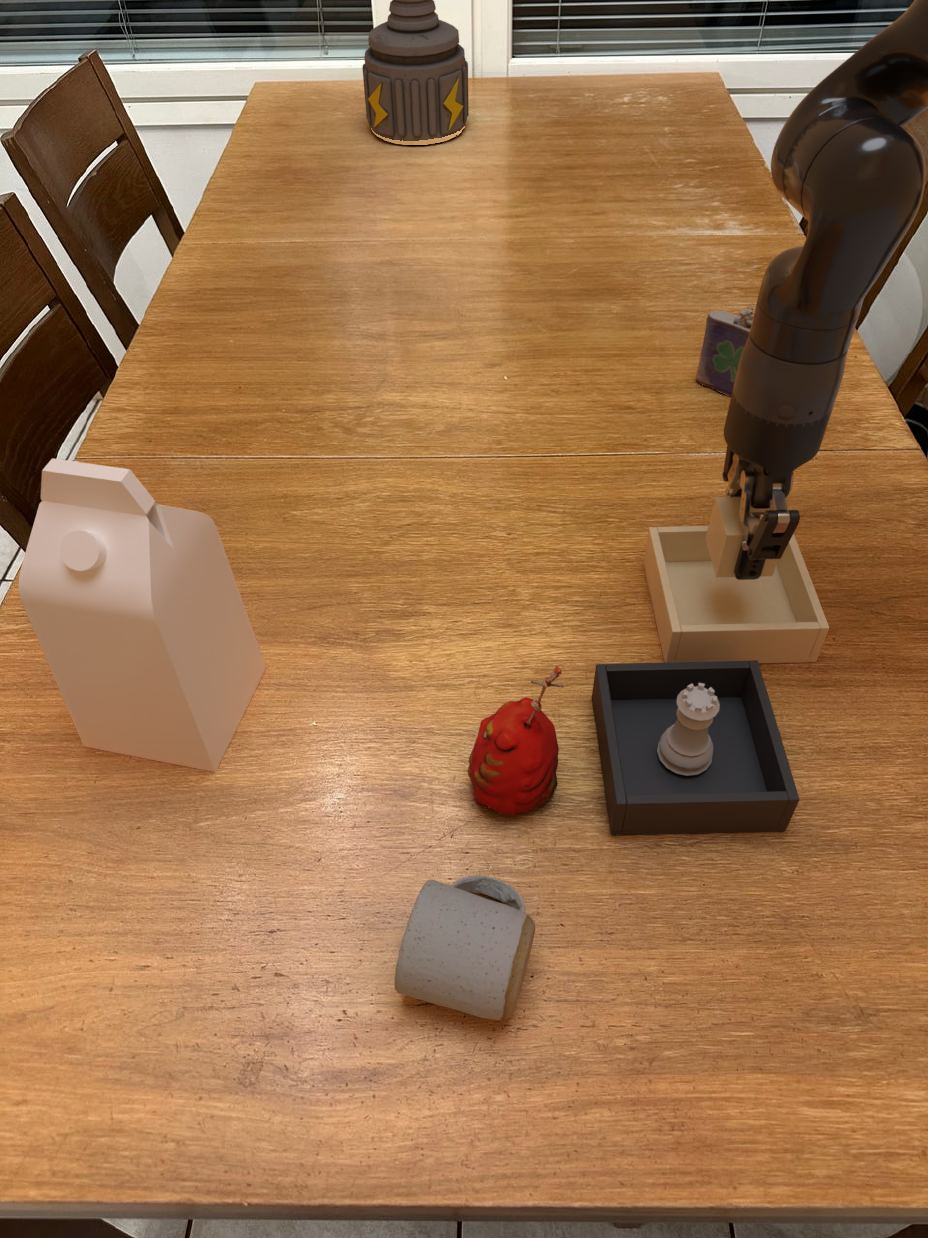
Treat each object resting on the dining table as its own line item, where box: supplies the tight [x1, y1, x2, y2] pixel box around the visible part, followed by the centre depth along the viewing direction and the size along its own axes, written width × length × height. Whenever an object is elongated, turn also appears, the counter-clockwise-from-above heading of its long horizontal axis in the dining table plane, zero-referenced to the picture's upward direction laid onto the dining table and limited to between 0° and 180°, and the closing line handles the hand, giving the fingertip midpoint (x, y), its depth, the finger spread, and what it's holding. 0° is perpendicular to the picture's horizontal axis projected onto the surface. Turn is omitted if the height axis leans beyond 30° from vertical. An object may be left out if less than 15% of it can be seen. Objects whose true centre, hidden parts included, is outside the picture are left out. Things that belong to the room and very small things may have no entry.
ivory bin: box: [642, 525, 830, 664], centre depth 88 cm, size 14×14×5 cm
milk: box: [17, 457, 267, 773], centre depth 73 cm, size 12×12×26 cm
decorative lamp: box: [361, 0, 470, 141], centre depth 162 cm, size 19×19×30 cm
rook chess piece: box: [657, 683, 720, 776], centre depth 75 cm, size 4×4×8 cm
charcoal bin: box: [591, 660, 800, 836], centre depth 76 cm, size 14×14×5 cm
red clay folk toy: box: [467, 665, 565, 816], centre depth 71 cm, size 8×7×15 cm
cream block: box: [705, 496, 778, 577], centre depth 83 cm, size 5×5×5 cm
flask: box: [695, 305, 756, 397], centre depth 110 cm, size 9×3×11 cm, turn 46°
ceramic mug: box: [394, 874, 536, 1021], centre depth 64 cm, size 11×8×8 cm
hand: (739, 553), depth 84 cm, fingers closed on cream block, 5 cm apart
